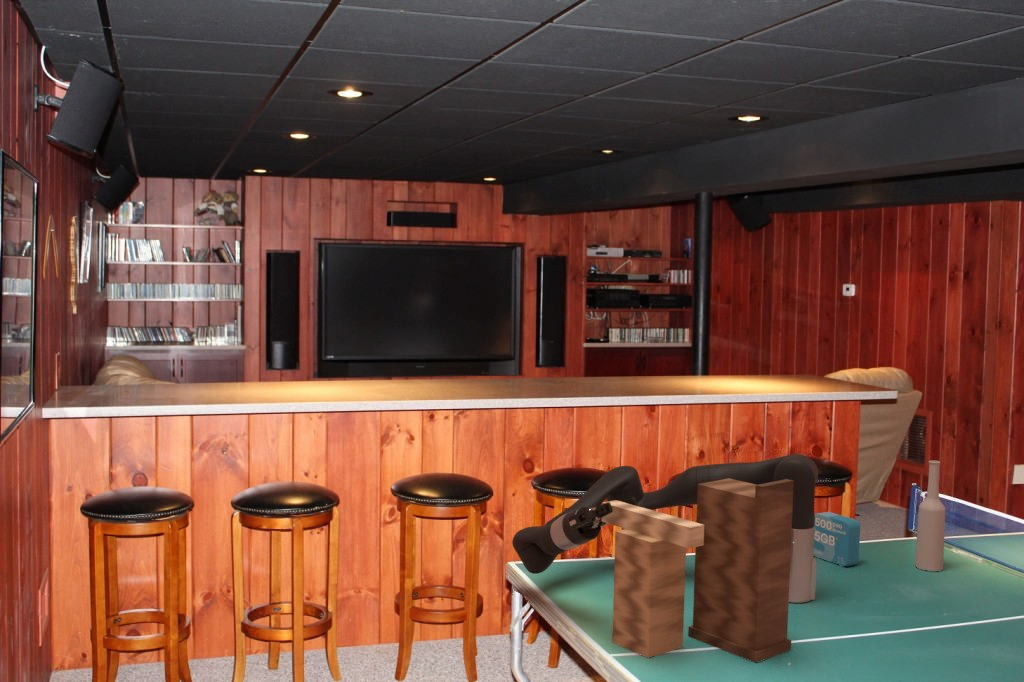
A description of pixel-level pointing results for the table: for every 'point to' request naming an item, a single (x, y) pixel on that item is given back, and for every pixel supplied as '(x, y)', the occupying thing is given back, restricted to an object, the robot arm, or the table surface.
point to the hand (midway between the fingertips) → (622, 504)
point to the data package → (836, 538)
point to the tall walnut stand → (743, 567)
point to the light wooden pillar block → (648, 593)
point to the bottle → (931, 525)
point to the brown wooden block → (655, 524)
